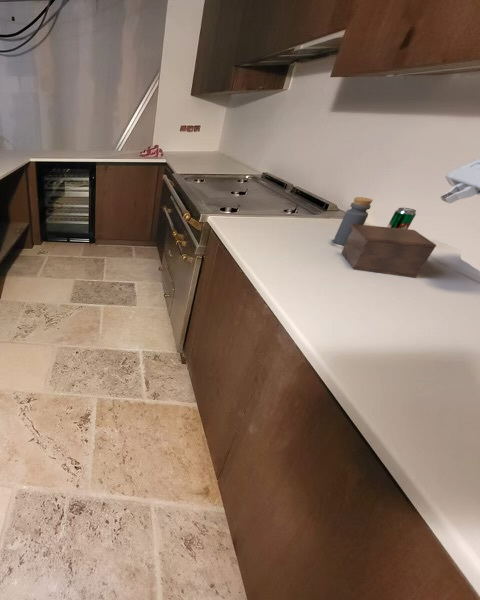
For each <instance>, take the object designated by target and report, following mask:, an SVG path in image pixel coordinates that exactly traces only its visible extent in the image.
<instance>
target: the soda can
mask: <svg viewBox="0 0 480 600" xmlns="http://www.w3.org/2000/svg"><path fill="white" fill-rule="evenodd" d="M416 212H417V210H416V209H414V208H409V207H398V209H396V210H395V211H394V213H393V215H392V217H391V218H390V219H389V223H388V224H387V226H386V227H389V228H400V229H409V228H410V227H411V224H412V222H413V221H414V219H415V217H416V214H417V213H416Z"/></svg>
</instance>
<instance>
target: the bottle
mask: <svg viewBox="0 0 480 600" xmlns="http://www.w3.org/2000/svg"><path fill="white" fill-rule="evenodd" d="M373 201H374V200H373V199H372V198H368V197H363V196H355V197H354V199H353V202H351V203H350V207H351V208H350V209H347V210H346V211H345V214H344V216H343V218H342V220H341V223H340V225H339V227H338V229H337V232H336V233H335V236H334V238H333V242H334V243H335V244H337V245H341V246H345V244H346V241H347V239H348V237H349V235H350V233H351V231H352V229H353V228H352V227H351V224H358V225H365V223H366V221H367V218H368V216H369V212H367V211H368V210H370V209H371V207H372V206H371V204H372V202H373Z"/></svg>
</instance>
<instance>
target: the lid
mask: <svg viewBox="0 0 480 600" xmlns="http://www.w3.org/2000/svg"><path fill="white" fill-rule="evenodd" d="M351 227H352V228H353V229H354V230H355V231H356V232H357V233H358V234H359V235H360V236H361V237H362V238H363V239H364V240H367V241H376V242H385V243H395V244H404V245H413V246H422V247H431V248H434V249H435V248H436V247H437V244H436V243H434V241H433V242H432V241H431V240H430V239H428V238H426V236H424V235H422V234H421V233H420V232H419V231H417V230H415V229H409V228H408V229H400V228H389V227H387V226H380V225H379V226H378V225H366V224H364V225H358V224H351Z"/></svg>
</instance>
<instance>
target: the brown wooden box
mask: <svg viewBox="0 0 480 600" xmlns="http://www.w3.org/2000/svg"><path fill="white" fill-rule="evenodd" d="M434 250H435V248H431V247H422V246H413V245H404V244H395V243H385V242H376V241H367V240H364V239H363V238H362V237H361V236H360V235H359V234H358V233H357V232H356V231H355V230H354V229H352V231H351V233H350V235H349V237H348V239H347V241H346V244H345V245H343V248H342V250H341V256H343V258H344V259H345V260H346V262H347V263H348V264H349V266H350V267H351V268H352V269H353V270H357V271H363V272H364V271H365V272H372V273H378V274H386V275H393V276H400V277H402V276H403V277H409V278H414V279H416V278H417V277H418V275H419V274H420V272H421V271H422V269H423V267H424V266H425V264H426V262H427V261H428V260H429V258H430V256H431V255H432V253H433V252H434Z"/></svg>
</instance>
